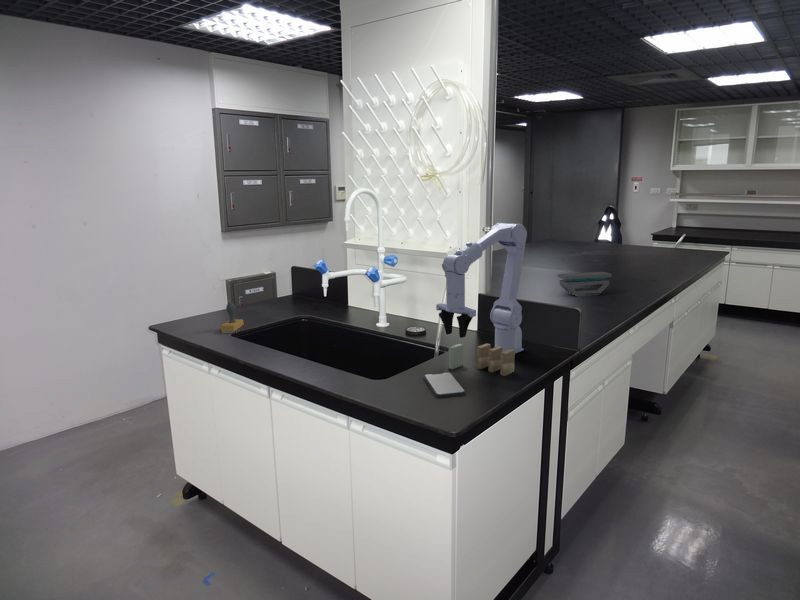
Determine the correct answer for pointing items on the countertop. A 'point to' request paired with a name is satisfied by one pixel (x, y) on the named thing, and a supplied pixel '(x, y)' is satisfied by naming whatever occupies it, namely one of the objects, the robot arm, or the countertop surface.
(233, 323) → the rubber stamp
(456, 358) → the domino sage
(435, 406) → the countertop surface
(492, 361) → the maple domino
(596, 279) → the sharpening stone
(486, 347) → the maple domino
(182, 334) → the countertop surface
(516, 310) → the robot arm
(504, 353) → the maple domino
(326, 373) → the countertop surface
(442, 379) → the phone case
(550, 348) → the countertop surface
